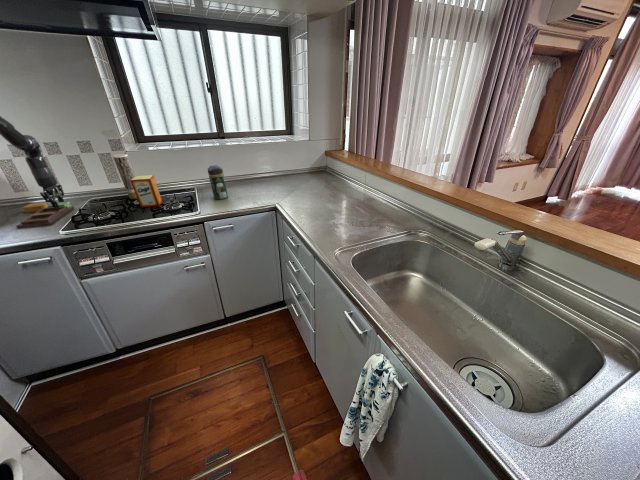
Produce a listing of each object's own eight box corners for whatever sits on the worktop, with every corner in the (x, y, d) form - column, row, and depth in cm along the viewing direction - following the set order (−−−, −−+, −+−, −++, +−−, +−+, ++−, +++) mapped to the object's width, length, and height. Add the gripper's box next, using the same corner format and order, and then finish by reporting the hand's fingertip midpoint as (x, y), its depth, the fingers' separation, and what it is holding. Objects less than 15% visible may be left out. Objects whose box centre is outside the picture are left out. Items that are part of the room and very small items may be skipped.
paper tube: (139, 194, 166) (124, 153, 153) (144, 197, 162) (128, 155, 149) (127, 197, 161) (110, 155, 149) (131, 200, 157) (115, 157, 145)
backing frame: (17, 228, 128) (14, 223, 126) (44, 211, 144) (41, 207, 143) (51, 225, 130) (48, 220, 129) (74, 209, 147) (71, 204, 146)
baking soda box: (162, 201, 155) (153, 174, 147) (159, 205, 150) (149, 178, 142) (144, 203, 153) (134, 175, 145) (140, 207, 148) (129, 179, 140)
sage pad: (49, 211, 145) (46, 206, 143) (55, 207, 149) (52, 202, 148) (66, 209, 146) (64, 204, 145) (71, 206, 151) (69, 201, 149)
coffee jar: (212, 195, 162) (205, 165, 153) (225, 193, 165) (219, 163, 156) (215, 201, 155) (208, 169, 145) (229, 198, 158) (223, 167, 149)
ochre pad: (25, 212, 144) (22, 207, 142) (31, 209, 148) (28, 204, 147) (43, 211, 145) (40, 206, 144) (48, 207, 150) (45, 202, 148)
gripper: (44, 173, 144) (60, 202, 153) (25, 180, 132) (43, 212, 140) (60, 172, 146) (75, 201, 154) (43, 179, 133) (60, 210, 142)
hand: (60, 206), depth 147 cm, fingers closed on sage pad, 5 cm apart
